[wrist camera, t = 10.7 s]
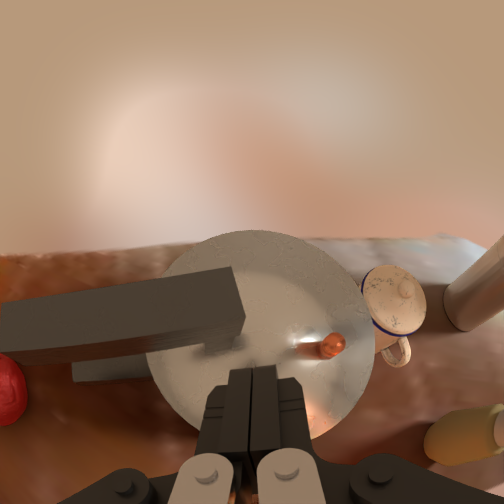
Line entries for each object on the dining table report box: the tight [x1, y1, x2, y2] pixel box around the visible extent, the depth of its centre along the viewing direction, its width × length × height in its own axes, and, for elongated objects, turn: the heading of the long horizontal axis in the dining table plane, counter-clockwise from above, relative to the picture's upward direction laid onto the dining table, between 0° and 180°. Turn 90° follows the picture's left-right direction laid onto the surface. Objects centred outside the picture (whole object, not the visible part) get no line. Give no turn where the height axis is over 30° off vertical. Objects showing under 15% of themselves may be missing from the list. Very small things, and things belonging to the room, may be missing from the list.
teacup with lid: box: [358, 265, 426, 367], centre depth 34 cm, size 12×9×12 cm
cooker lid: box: [0, 230, 375, 439], centre depth 19 cm, size 26×19×9 cm
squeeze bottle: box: [423, 404, 504, 467], centre depth 23 cm, size 8×8×18 cm
